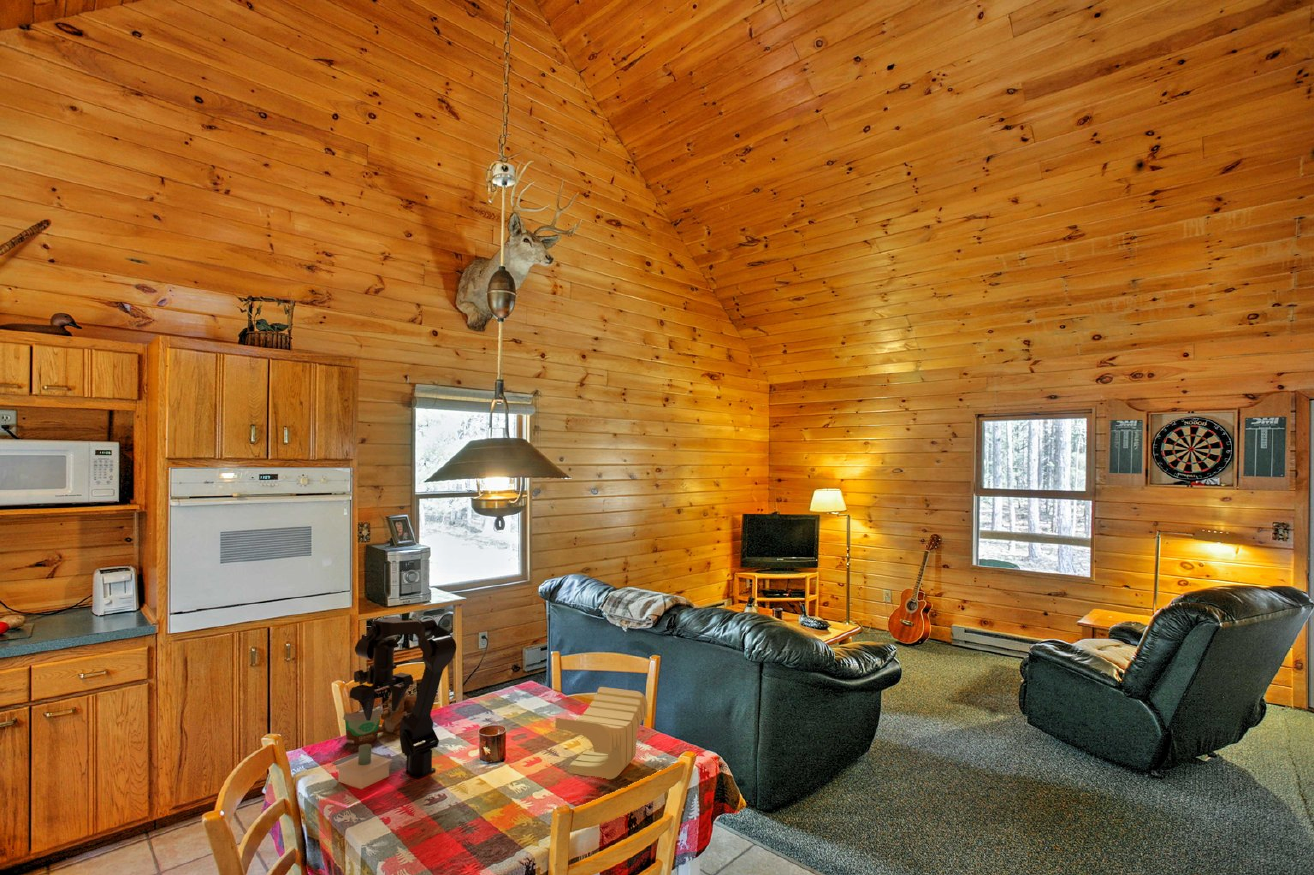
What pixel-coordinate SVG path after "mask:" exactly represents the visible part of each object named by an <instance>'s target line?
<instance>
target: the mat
mask: <svg viewBox="0 0 1314 875" xmlns="http://www.w3.org/2000/svg"><path fill="white" fill-rule="evenodd" d="M358 754H359V751H357V752H355V753H352V754H350V755H347V756H345V757H343V758H340V759H337V760H335V761H333V762H331V764H333V765H335V766H336V765H339V764H341V763H344V762H346V761H348V760H351V759H353V758H356V757H358ZM371 754H374V755H377V756H381V757H384V758H388V759H390V756H387V755H383V754H380V753H377V752H374V751H371Z"/></svg>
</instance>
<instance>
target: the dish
mask: <svg viewBox="0 0 1314 875" xmlns="http://www.w3.org/2000/svg"><path fill="white" fill-rule="evenodd" d="M388 777H390V764H389V765H386V766H384V767H382V768H380V769H377V770H375V771H373V772H371V773H369V774H366V775H364V776H362V777H361V776H358V775H355V774H352V773H348V772H345V771H342V770H339V769H338V781H337V782H338V783H342V784H345V785H347V786H350V787H353V788H356V789H359V790H363V789H365V788H367V787H369V786H371V785H373V784H375V783H378V782H379V781H382V780H384V779H386V778H388Z"/></svg>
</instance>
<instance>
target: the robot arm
mask: <svg viewBox="0 0 1314 875" xmlns="http://www.w3.org/2000/svg"><path fill="white" fill-rule="evenodd" d="M426 634H430V635H431V636H432V637H434V638H430V639H428V638H427V637H426ZM403 635H404V636H405V635H416V636H417V646H418V648H419V649H420V651H421V652H422V655H421V656H422V657H421V658H422V660H423V664H424V669H423V673H422V676H421V680H420V684H419V688H418V691H417V694H416V697H417V698H416V701H415V705H414V708H413V711H412V713H410V714H406V715H404V716H403V718H402V723H401V726H400V727H399V729H401V730H400V735H398V736H399V743H400V747H401V748H400V749H401V753H402V754H403V755H404V756H405V757H406V764H405V765H406V766H405V768H406V770H404V771H402V774H404V775H408V777H411V778H414V779H418V780H419V779H421V778H422V779H423V778H424V777H425V776H427V775H430V774H432V773H434V772H435V771H436V770H437V769H436V768H435V767H432V765H433V763H432V762H433V749H434V748H438V746H439V743H440V739H439V738H438V736H437V733H436V732H435V729H434V721H433V718H432V716H431V714H432V710H433V707H434V704H435V699H436V697H437V693H438V690H439V686H440V683H441V679H442V677H443V672H444V670H445V668H446V667H447V666H448V665H449V664H450V663H451V662H452V660H453V658H454V657H455V656H454V655H455V654H456V651H457V642H456V640H455V639H454V637H453V636H452V635H451V634H450V632H449V630H447V629H445V628H444V627H442V626H440V625H439V624H438V623H437V622H436V621H435V619H433V618H425V619H424V618H423V619H414V620H412V619H411V620H401V619H400V618H398V617H389V618H388V617H387V618H383V619H377V620H373V621H372V624H371V626H369V629H368V631H367V633H363V634H361V638H359V640H358V641H357V642H356V643H355V647H354V651H355V654H356V656H358V657H361V658H364V659H368V660H372V664H371V665H370V666H369V667H368V671H367V670H366V671H364V670H363V669H359V670H356V671H353V681H354V683H359V685H355V686H353V687H351V688H350V690H349V697H348V698H350V699H353V700H354V701H358V703H359V704H360V705H361V708H362V709H363V711H364V714H365V717H366V720H368V721H370V719H371V716H372V711H373V707H375V706H374V704H375V700H376V698H375V697H374V696H375V695H376V694H375V692H378V691H381V690H384V689H387V688H389V689H390V690H391V691H392V692H391V691H390V692H391V693H392V711H396V709H397V707H398V705H399V703H400V701H401V699H402V697H403V696H404V694H405V693H406V692H408V690H409V689H410V688H411V685H413V684H414V677H413V676H412V674H410V673H405V672H398V673H395V674H394V670H395V669H397V664H395V662H394V661H395V648H399V643H398V642H396V641H395V639H394V637H397V636H398V637H399V636H403ZM391 638H392V639H391ZM365 683H366V684H367V685H366V684H365Z"/></svg>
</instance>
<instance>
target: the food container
mask: <svg viewBox="0 0 1314 875" xmlns="http://www.w3.org/2000/svg"><path fill="white" fill-rule="evenodd" d="M383 709H384V708H383V704H381V703H380V702H378V705H377V706H373V711H372V716H371V719H370V721H368V720H366V717H365V714H364V711H363V708H362V709H359V710H357V711H353V712H346V711H344V714H343V718H342V720H345V739H346V744H352V745H363V744H369V743H371V742H373V741H375V740H376V739H377V738H378V736H379V732H378V731H379V727H380V722H381V714H382V713H383V712H384V710H383Z"/></svg>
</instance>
